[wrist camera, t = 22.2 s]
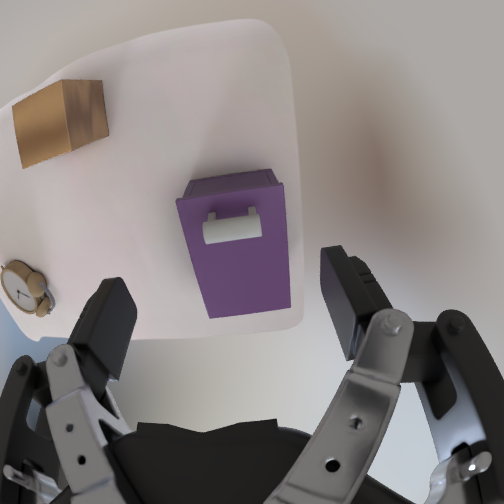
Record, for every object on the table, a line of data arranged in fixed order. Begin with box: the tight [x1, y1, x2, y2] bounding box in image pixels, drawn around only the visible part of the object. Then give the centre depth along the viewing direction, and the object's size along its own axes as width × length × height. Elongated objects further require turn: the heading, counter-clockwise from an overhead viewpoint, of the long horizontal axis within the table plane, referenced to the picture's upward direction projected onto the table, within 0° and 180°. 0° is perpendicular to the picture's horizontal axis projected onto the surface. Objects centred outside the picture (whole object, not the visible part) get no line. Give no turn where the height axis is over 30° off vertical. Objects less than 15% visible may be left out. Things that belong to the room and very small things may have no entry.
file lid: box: [176, 183, 291, 319], centre depth 29 cm, size 17×11×5 cm, turn 7°
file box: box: [183, 169, 279, 197], centre depth 35 cm, size 16×11×8 cm
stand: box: [12, 80, 109, 169], centre depth 24 cm, size 8×8×10 cm
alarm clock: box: [0, 261, 55, 317], centre depth 40 cm, size 11×5×15 cm
